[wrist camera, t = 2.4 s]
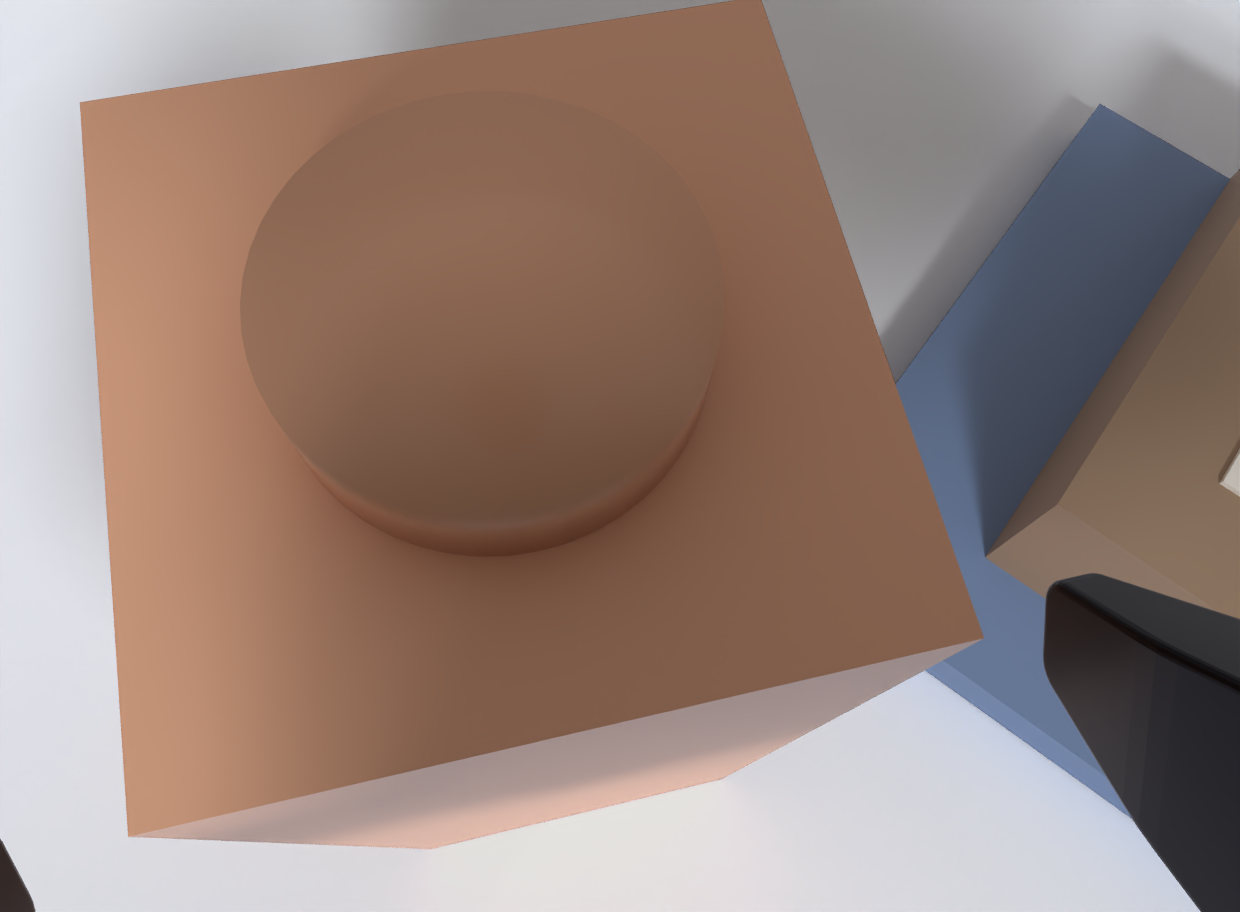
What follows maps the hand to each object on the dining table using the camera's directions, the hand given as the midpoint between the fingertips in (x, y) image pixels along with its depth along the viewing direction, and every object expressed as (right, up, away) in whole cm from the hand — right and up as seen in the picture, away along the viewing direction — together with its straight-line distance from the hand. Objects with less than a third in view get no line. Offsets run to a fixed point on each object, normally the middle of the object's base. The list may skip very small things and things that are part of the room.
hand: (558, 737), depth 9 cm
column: (-1, -1, +10) cm, 10 cm away
